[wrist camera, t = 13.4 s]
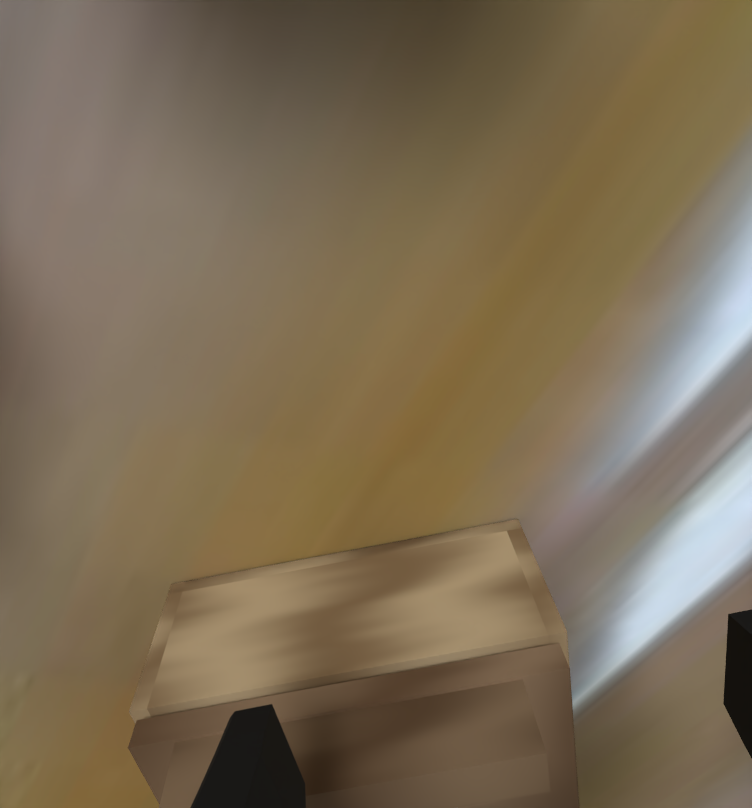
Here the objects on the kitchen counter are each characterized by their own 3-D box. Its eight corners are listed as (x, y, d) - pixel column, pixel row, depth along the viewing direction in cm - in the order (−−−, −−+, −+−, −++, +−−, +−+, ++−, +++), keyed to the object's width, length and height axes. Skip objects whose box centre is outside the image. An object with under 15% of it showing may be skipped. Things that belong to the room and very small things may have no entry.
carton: (518, 518, 21) (566, 631, 17) (536, 698, 25) (580, 828, 21) (171, 584, 22) (128, 712, 17) (243, 751, 26) (224, 890, 21)
